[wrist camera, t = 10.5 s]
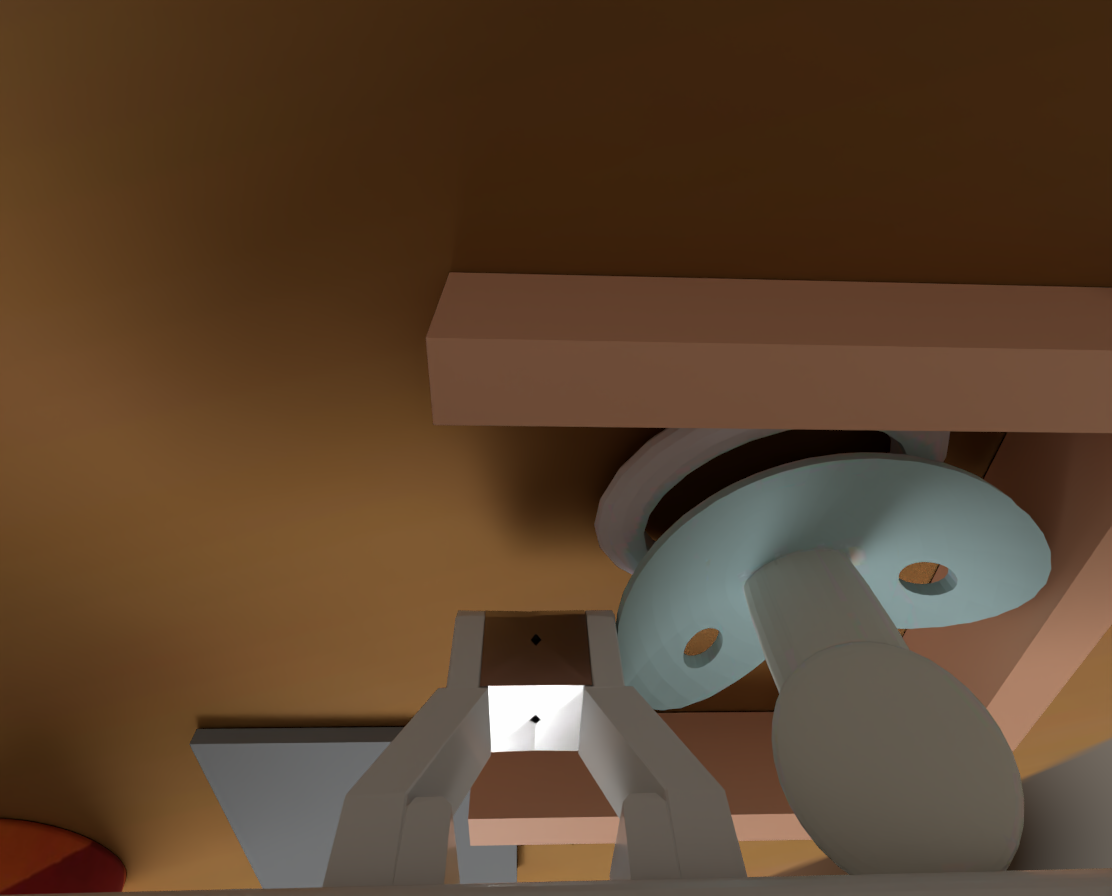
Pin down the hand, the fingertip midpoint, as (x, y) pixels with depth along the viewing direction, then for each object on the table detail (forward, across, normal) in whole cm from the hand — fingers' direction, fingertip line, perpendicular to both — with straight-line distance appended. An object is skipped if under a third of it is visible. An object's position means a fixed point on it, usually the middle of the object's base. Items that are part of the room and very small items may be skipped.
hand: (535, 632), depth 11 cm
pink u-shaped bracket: (+2, -4, 0) cm, 4 cm away
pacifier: (+2, -4, -2) cm, 5 cm away
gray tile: (+2, +4, +10) cm, 11 cm away
